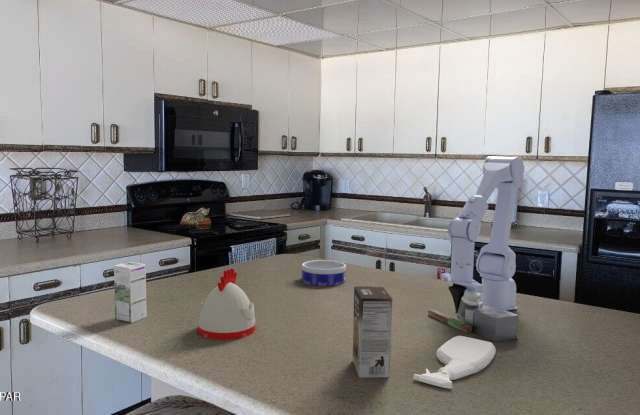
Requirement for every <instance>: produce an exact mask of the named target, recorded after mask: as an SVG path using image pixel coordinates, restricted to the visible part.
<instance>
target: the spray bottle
mask: <svg viewBox="0 0 640 415" xmlns="http://www.w3.org/2000/svg"><path fill="white" fill-rule="evenodd" d="M496 351H497V350H496V347H495V345H494V344H493V342H490V341H487V340H482V339H477V338H473V337H469V336H468V337H467V336H463V335H457V336H454V337H452V338H450V339H449V340H447V341H446V342H444V343H443V344H442V345H441V346H440V347H438V348H437V351H436V357H437V359H438V360H439V362H440V363H442V364H444V367H440V368H439V369H438V370H437V372H430V370H429V369H428V368H425V373H421V374H416V373H414V374H413V380H416V381H418V382H421V383H425V384H428V385H432V386H436V387H439V388H444V389H453V381H455V380H458V379H461V378H465V377H468V376H471V375H474V374H477V373H478V372H480V371H482V370H483V369H484V368H486V367H487V366H488V365H489V364H490V363H491V362H492V360H493V359H494V357H495V356H496V355H495V354H496V353H497V352H496Z"/></svg>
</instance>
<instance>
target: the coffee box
mask: <svg viewBox="0 0 640 415" xmlns="http://www.w3.org/2000/svg"><path fill="white" fill-rule="evenodd" d="M392 323H393V297H391V295H390V294H389V293H388V291H387V290H386V289H385V288H384V287H383V286H367V285H366V286H362V285H361V286H354V287H353V324H352V325H353V327H352V329H353V332H352V334H353V335H352V336H353V337H352V342H353V343H352V362H353V365H354V367H355V370H356V373H357V375H358V378H362V379H363V378H364V379H365V378H390V371H391V370H390V368H391V365H390V364H391V346H392V344H391V343H392Z"/></svg>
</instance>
